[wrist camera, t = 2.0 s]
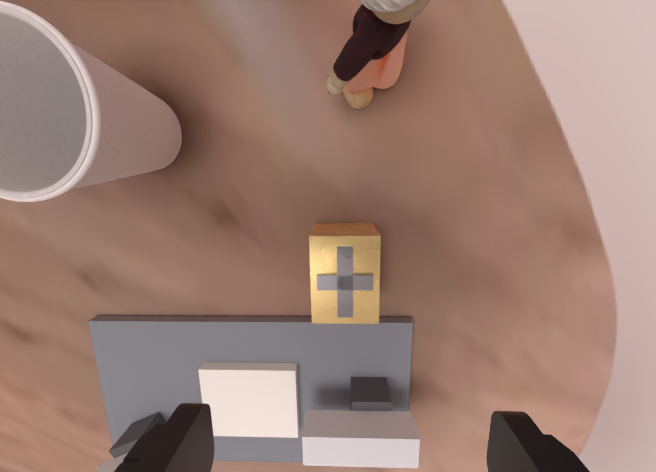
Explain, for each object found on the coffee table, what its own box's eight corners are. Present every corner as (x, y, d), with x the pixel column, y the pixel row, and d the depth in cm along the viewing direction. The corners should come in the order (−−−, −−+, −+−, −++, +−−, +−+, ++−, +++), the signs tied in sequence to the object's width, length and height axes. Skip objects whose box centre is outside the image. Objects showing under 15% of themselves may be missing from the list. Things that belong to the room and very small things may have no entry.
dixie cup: (71, 142, 23) (-123, 122, 13) (125, 47, 22) (-50, -53, 12) (162, 210, 24) (42, 238, 14) (221, 123, 23) (130, 89, 13)
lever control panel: (122, 448, 29) (66, 520, 23) (97, 315, 26) (24, 359, 20) (403, 454, 28) (421, 532, 22) (410, 317, 25) (432, 363, 19)
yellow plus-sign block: (315, 223, 24) (308, 237, 19) (372, 222, 24) (381, 237, 19) (317, 293, 25) (311, 325, 20) (371, 293, 25) (379, 326, 20)
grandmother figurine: (367, 133, 22) (402, 86, 10) (321, 106, 22) (299, 24, 10) (424, 29, 21) (551, -180, 8) (376, -1, 20) (433, -263, 8)
